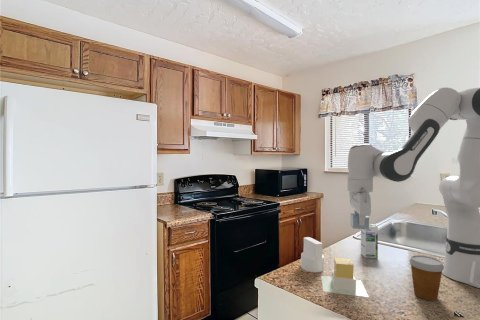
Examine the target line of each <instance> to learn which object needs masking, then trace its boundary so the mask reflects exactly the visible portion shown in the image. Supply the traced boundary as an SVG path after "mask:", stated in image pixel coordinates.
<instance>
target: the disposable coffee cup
mask: <svg viewBox="0 0 480 320" xmlns="http://www.w3.org/2000/svg"><path fill="white" fill-rule="evenodd" d="M408 261H409V265H410V269H411V277H412V285H413V286H412V287H413V294H414V295H415V296H416V297H418V298H420V299H422V300H426V301H432V302H433V301H437V300H438V296H439V293H440V285H441V279H442V275H443V273H442V271H443V269H444V266H443V265H444V264H443V261H441V260H440V259H438V258H435V257H431V256H428V255H422V254H414V255H413V254H412V255H411V256H410V259H408Z"/></svg>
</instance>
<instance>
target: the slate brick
mask: <svg viewBox="0 0 480 320" xmlns="http://www.w3.org/2000/svg"><path fill="white" fill-rule="evenodd" d="M369 224H370V216H366V218H365V225H364V226H362V225H359V214H355V213H350V226H351V228H352V229H356V230H357V229H358V230H361V229H368V230H369Z"/></svg>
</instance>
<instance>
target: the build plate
mask: <svg viewBox="0 0 480 320" xmlns="http://www.w3.org/2000/svg"><path fill="white" fill-rule="evenodd" d="M320 277H321V278H320V279H321V284H322V291H323V292H325V293H331V294H332V293H333V294H340V295H348V296H357V297H363V298H370V297H369V294H368V292H367V290H366V288H365V286H364V285H365V284H364V283H363V281H362V280H360V279H356V292H353V291H345V290H337V289H333V284H332V276H325V275H320Z"/></svg>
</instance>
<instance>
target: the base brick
mask: <svg viewBox="0 0 480 320" xmlns="http://www.w3.org/2000/svg"><path fill="white" fill-rule="evenodd" d="M354 274H355V273H353V279H352V278H343V277H336V275H335V271H334V268H331V277H332V284H333V289H337V290H345V291H353V292H356V280H357V279H356V277H355V275H354Z"/></svg>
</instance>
